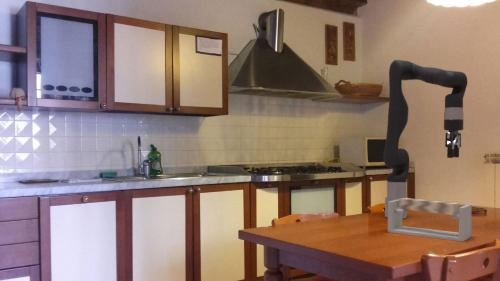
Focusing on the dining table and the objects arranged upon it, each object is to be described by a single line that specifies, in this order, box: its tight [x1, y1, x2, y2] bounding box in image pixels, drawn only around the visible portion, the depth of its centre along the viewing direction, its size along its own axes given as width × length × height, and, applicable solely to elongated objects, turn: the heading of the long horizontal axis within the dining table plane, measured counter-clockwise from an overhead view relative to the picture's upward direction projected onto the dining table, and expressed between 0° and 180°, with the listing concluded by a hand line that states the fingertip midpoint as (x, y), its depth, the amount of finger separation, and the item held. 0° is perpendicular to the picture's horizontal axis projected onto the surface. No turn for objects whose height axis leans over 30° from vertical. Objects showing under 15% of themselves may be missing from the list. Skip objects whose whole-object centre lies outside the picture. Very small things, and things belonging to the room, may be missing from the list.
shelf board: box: [399, 197, 460, 216], centre depth 182 cm, size 22×5×4 cm, turn 42°
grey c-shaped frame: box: [387, 199, 472, 242], centre depth 182 cm, size 28×12×12 cm, turn 52°
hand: (453, 157), depth 197 cm, fingers open, 8 cm apart
